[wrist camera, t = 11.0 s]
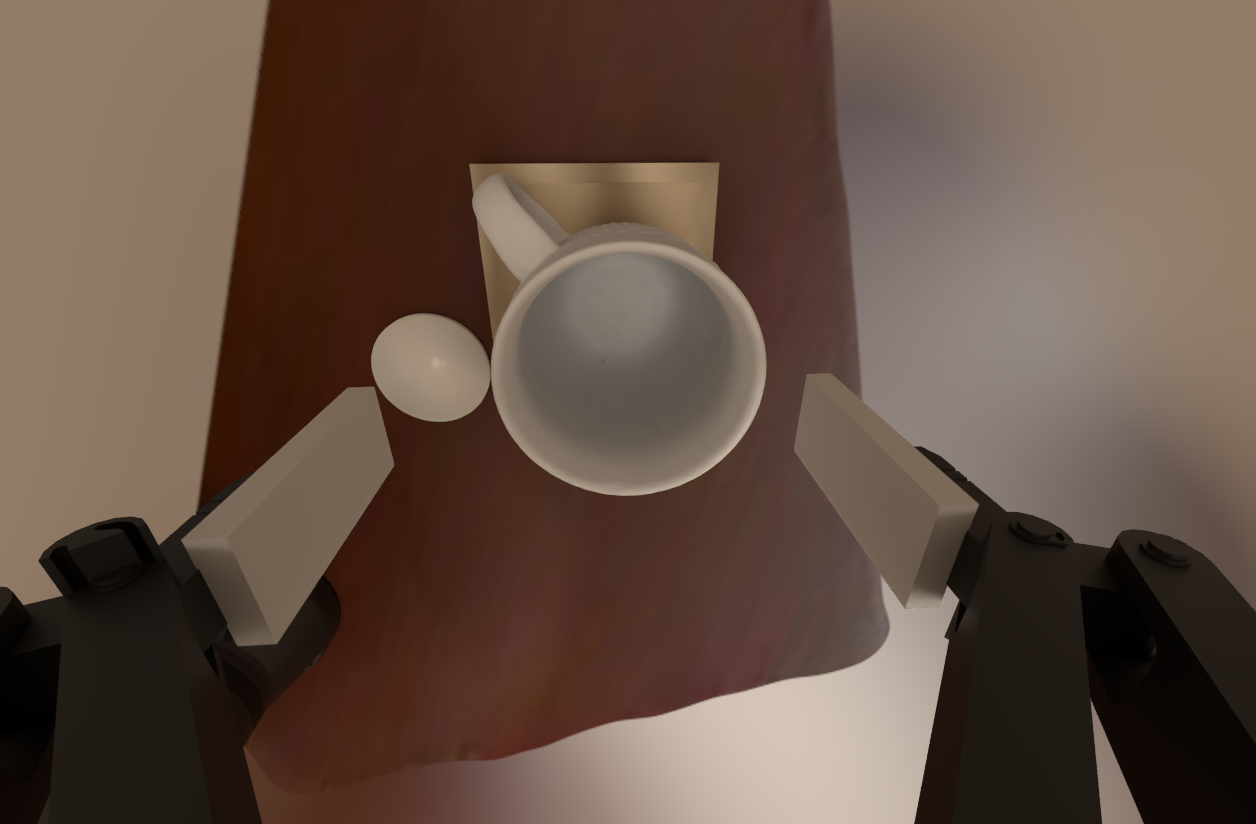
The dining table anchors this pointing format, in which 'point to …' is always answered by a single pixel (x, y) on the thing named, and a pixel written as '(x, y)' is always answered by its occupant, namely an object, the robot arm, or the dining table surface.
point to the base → (605, 206)
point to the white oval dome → (431, 367)
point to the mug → (617, 349)
